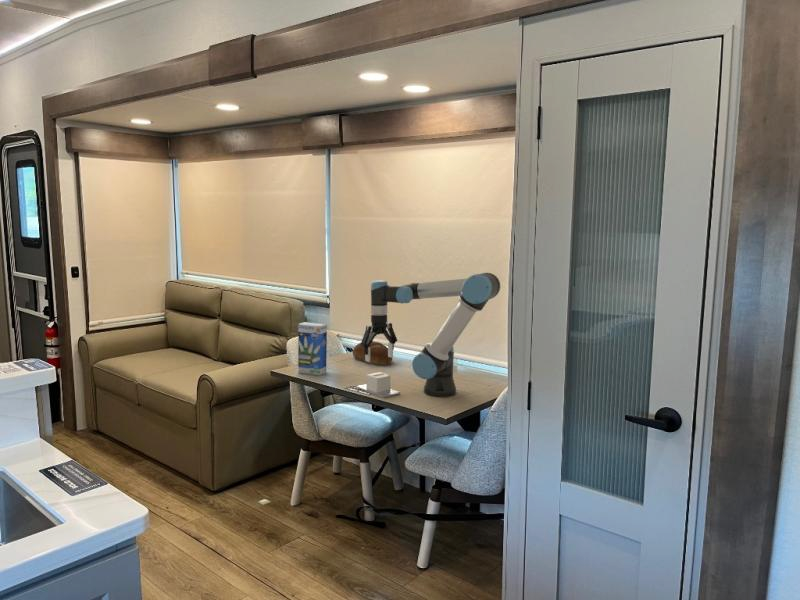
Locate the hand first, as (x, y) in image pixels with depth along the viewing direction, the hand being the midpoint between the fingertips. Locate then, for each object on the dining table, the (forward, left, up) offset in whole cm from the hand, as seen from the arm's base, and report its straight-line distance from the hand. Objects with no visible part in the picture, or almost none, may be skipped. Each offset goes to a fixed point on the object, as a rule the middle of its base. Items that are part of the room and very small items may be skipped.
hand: (379, 359), depth 279 cm
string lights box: (+47, +6, -16) cm, 50 cm away
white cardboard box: (0, 0, -14) cm, 14 cm away
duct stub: (0, 0, -15) cm, 15 cm away
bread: (+49, -35, -16) cm, 62 cm away
